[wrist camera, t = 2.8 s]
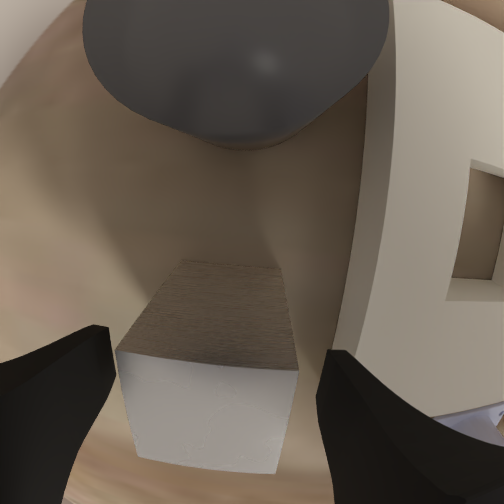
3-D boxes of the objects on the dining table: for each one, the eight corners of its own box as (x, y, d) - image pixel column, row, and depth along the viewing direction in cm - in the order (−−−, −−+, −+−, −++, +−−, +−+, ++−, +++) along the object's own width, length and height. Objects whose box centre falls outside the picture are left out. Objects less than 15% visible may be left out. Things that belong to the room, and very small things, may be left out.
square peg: (270, 352, 14) (275, 473, 8) (182, 343, 14) (138, 456, 8) (280, 268, 13) (299, 371, 7) (181, 260, 13) (114, 349, 7)
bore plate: (490, 372, 15) (513, 398, 12) (322, 385, 15) (332, 426, 12) (543, 90, 10) (576, 86, 7) (367, 12, 10) (391, -18, 7)
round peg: (319, 158, 12) (387, 153, 5) (160, 147, 12) (62, 136, 5) (327, 18, 10) (378, -80, 4) (178, 10, 10) (119, -84, 4)
